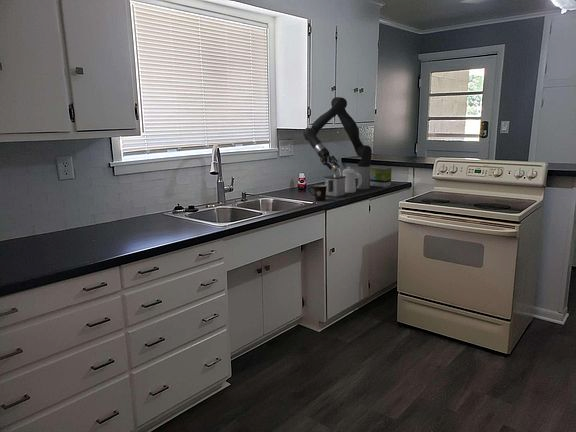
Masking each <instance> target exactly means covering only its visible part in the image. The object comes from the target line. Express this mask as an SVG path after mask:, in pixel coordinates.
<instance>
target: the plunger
mask: <svg viewBox="0 0 576 432" xmlns="http://www.w3.org/2000/svg"><path fill="white" fill-rule="evenodd" d="M332 171H333V175H334V177H336V175H337V171H339V170H338V166H335V165H332Z"/></svg>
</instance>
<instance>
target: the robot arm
mask: <svg viewBox="0 0 576 432" xmlns="http://www.w3.org/2000/svg"><path fill="white" fill-rule="evenodd" d="M330 104H331V105H330V106H331V108H330V109H329V110H327V111H325V112H324V113H323V114H321V115H320V116H319V117H318V118H317V119H316V120H315V121H314V122H313V123H312V124H311V127H305V128H304V129H303V130H302V131H303V137H304V139H305V141H308V142H309V144H310V146H311V147H312V148H313V150H314V151H315V153H316V155H317V157H319V160H320V162H321V163H322V165H323V166H326V167H327V168H328V169H329V170H333V166H338V168H339V169H340V166H339V164H338V162H339V161H338V160H337V158H336V157H335V156H334V155H330V151H329V150H328V149H327V146H325V145H324V144H323V143H322V141H321V140H320V139H319V138H318V136H317V135H318V133H319V132H320V131H321V130H322V129H323V128H324V126H326V124H328V123H329V122H330V121H331V120H332V119H333V118H335V117H336V116H337V117H338V119H339V121H340V123H341V124H342V127H343V129H344V130H345V132H346V134H347V136H348V138H349V140H350V142H351V143H352V145H353V148H354V151H355V153H356V155H357V156H358V157H359V158H361V160H360V161H359V162H357V173H359V174H360V175H361V177H362V183H361V185H360V184H359V177H360V175H359V174H358V175H359V177H358V175H357V185H358V184H359V185H360V186H359V187H358V188H357V189H359V190H369V189H370V188H371V186H370V168H371V164H372V155H373V150H372V147H371V146H370V145H367V144H366V145H365V144H363V142H362V140H361V139H360V129H359V126H358V125H357V123H356V121H355V120H354V118H353V117H352V116H351V115H350V114H349V112H347V110H346V108H347V106H348V101H347V99H346V98H344V97H341V96H338V97H337V96H336V97H334V98H333V97H332V100H331V103H330ZM331 164H332V165H331ZM360 182H361V178H360Z"/></svg>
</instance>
